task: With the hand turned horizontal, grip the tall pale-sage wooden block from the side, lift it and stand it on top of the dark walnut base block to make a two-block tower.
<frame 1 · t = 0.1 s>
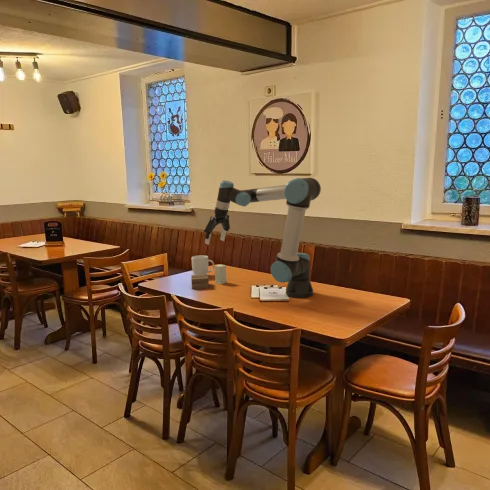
hand: (214, 242, 253), 28 cm above the table, tool tilted 20°, fingers open, 13 cm apart
walnut base: (200, 286, 262), on the table
sage block: (221, 282, 269), on the table
mug: (202, 276, 288), on the table
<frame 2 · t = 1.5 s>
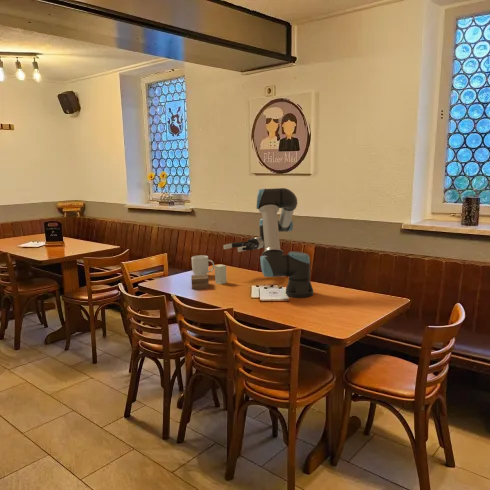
hand: (230, 248, 271), 20 cm above the table, tool horizontal, fingers open, 13 cm apart
nothing on the table moved.
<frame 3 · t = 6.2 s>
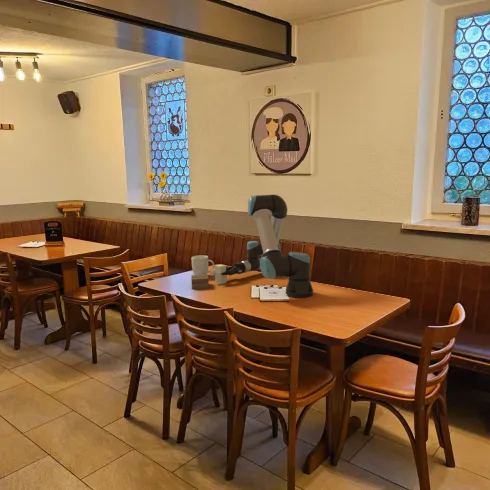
hand: (213, 274, 264), 7 cm above the table, tool horizontal, fingers closed on sage block, 5 cm apart
sage block: (221, 282, 269), on the table, touching gripper
everything else where it was.
when the fingers open (14 cm above the table, at t = 9.7 s): sage block drops 1 cm, resting on walnut base.
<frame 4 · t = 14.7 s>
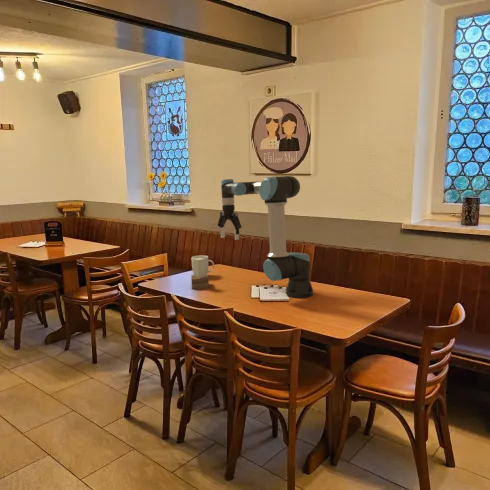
hand: (229, 238, 270), 27 cm above the table, tool pointing down, fingers open, 13 cm apart
sage block: (199, 276, 261), point 6 cm above the table, touching walnut base
everything else where it was.
at the end: sage block inside the target area on the walnut base (0.1 cm from its centre), point 6.0 cm above the walnut base's base; sage block tilted 0°; the gripper is holding nothing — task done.
